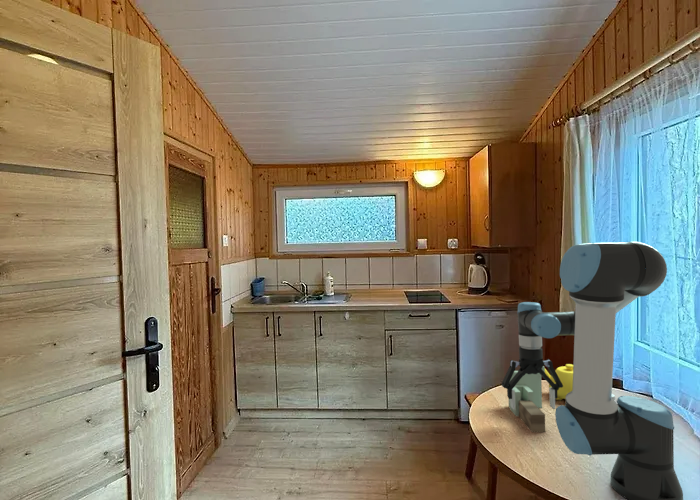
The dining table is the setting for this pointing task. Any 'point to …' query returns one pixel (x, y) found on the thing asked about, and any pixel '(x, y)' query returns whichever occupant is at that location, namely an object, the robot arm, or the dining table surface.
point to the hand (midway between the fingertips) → (532, 407)
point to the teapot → (563, 380)
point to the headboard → (528, 390)
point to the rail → (532, 416)
